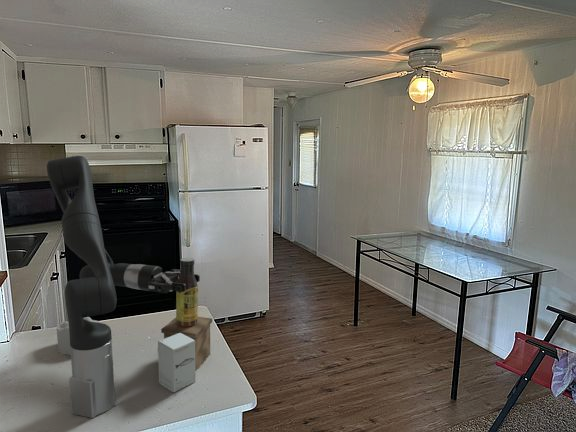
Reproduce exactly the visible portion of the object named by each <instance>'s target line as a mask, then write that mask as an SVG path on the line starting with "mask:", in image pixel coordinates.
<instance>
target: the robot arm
mask: <svg viewBox="0 0 576 432" xmlns="http://www.w3.org/2000/svg"><path fill="white" fill-rule="evenodd" d="M46 173H47V177H48V181H49V183H50V186H51V188H52V190H53V193H54V195H55V198H56V199H57V202H58V204H59V206H60V208H61V211H62V212H63V214H62V216H61V217H62V218H61V231H62V237H63V241H64V243H65V245H66V247H68V248H69V249H70V250H71V251H72V252H73V253H74V254H75V255H76V256H77V257H78V258H80V259H81V260H82V261H84V262H85V263H86V265H84V266H83V267H82V268H81V270H80V271H79V278H77V279H71V280H69V281H67V283H65V284H66V285H65V287H64V300H65V307H66V309H65V310H66V315H67V321H68V323H69V335H70V351H71V355H70V362H71V376H70V377H69V379H68V380H69V390H70V391H69V393H70V405H71V406H70V407H71V414H72V415H77V416H82V417H86V418H91V419H94V418H95V417H96V416H97V415H101V414H103V413H106V412H107V411H108V410H110V409H111V408H113V406H114V405H115V403H116V394H115V389H116V388H115V374H114V360H113V359H114V357H113V340H112V339H113V337H112V330H111V327H110V326H109V325H108V324H106V323H102V322H100V323H97V322H91V321H87V320H85V319H83V318H85V317H90V318H91V317H93V316H99V315H104V314H108V313H111V312H114V311H115V309H116V308H117V301H118V298H117V292H116V291H117V290H116V287H124V288H130V289H133V290H134V289H135V290H141V291H148V292H155V293H160V294H168V292H173V291H175V292H176V291H181V292H184V291H186V284H184V283H177V281H178V278H179V277H180V275H181V269H177V268H172V269H171V270H170V271H164V270H163V268H162V267H161V266H159V265H149V264H141V263H138V264H137V263H136V264H133V263H126V262H125V263H123V262H121V263H120V262H119V263H114V262H113V259H112V257H111V256H110V255H109V253H108V252H107V249H106V248H105V243H104V237H103V230H102V226H101V221H100V216H99V213H98V208H97V204H96V200H95V193H94V185H93V178H92V177H93V176H92V170H91V166H90V164H89V161H88V160H87V158H86V157H85V156H83V155H72V156H69V157H67V156H66V157H62V158H56V159H52V160H48V162H47V163H46ZM72 189H73V190H74V189H77V191H76V194H75V195H74V196H73V198H71V197H70V195H69V193H68V191H69V190H72ZM194 276H195V279H196V282H197V283H199V282H200V279H201V277H200V274H199V273H198V274H197V273H194Z"/></svg>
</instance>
